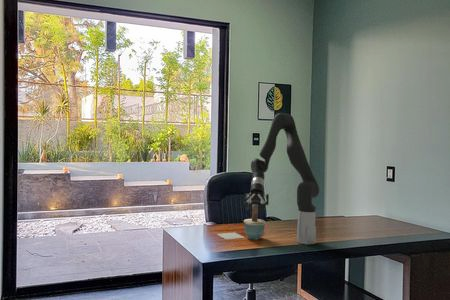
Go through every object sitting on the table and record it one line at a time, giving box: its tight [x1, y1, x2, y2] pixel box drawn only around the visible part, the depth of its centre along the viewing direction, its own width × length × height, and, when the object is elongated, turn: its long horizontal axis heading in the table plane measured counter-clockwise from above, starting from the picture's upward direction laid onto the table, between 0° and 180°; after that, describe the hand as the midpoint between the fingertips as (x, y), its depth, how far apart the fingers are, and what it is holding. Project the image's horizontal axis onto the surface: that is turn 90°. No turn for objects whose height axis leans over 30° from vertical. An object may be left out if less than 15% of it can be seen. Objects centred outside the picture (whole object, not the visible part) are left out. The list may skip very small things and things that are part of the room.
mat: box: [216, 232, 246, 240], centre depth 215 cm, size 12×12×1 cm
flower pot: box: [243, 222, 265, 241], centre depth 212 cm, size 9×9×9 cm
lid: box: [243, 203, 266, 226], centre depth 212 cm, size 12×12×10 cm
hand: (255, 209), depth 211 cm, fingers open, 8 cm apart
